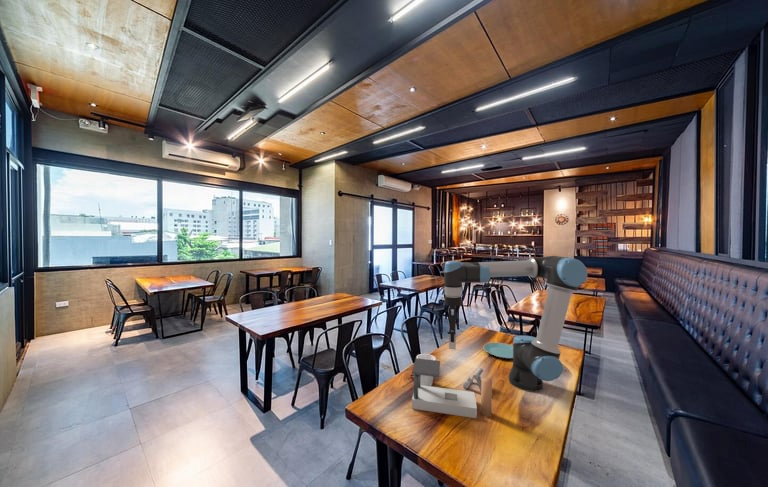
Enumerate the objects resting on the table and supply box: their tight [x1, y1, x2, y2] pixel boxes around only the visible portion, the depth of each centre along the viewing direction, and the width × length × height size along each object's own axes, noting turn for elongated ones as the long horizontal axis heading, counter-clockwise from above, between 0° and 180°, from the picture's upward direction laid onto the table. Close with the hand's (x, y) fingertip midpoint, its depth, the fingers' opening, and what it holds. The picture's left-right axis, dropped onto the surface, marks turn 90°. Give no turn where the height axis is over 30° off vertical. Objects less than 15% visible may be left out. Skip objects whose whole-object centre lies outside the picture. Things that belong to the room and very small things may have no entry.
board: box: [411, 385, 478, 419], centre depth 120 cm, size 26×12×4 cm, turn 77°
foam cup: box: [415, 353, 437, 387], centre depth 137 cm, size 10×9×13 cm
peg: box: [480, 377, 493, 418], centre depth 114 cm, size 4×4×14 cm
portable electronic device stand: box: [462, 367, 484, 392], centre depth 134 cm, size 9×8×8 cm
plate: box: [482, 342, 513, 360], centre depth 174 cm, size 22×22×3 cm
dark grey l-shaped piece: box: [411, 357, 441, 399], centre depth 122 cm, size 11×13×12 cm
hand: (452, 343), depth 125 cm, fingers open, 13 cm apart
